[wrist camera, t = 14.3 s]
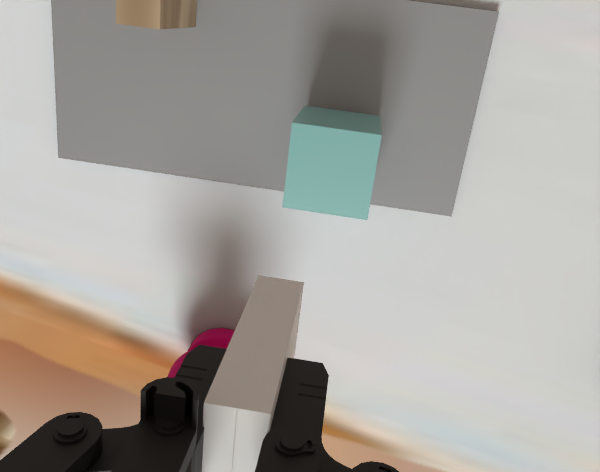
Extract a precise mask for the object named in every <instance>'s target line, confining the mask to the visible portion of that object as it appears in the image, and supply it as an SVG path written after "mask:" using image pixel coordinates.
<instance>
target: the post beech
mask: <svg viewBox="0 0 600 472" xmlns="http://www.w3.org/2000/svg"><path fill="white" fill-rule="evenodd" d="M196 9H197V0H116V24H122V25H130V26H137V27H145V28H152V29H174V28H189V27H196Z"/></svg>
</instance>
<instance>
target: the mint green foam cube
mask: <svg viewBox="0 0 600 472" xmlns="http://www.w3.org/2000/svg"><path fill="white" fill-rule="evenodd" d="M381 137H382V130H381V116H377V115H370V114H363V113H355V112H348V111H341V110H334V109H326V108H319V107H312V106H304V107H303V109H302V110H301V111H300V113H299V114H298V115H297V117H296V118H295V119H294V121H293V122H292V127H291V136H290V145H289V154H288V163H287V172H286V181H285V190H284V199H283V207H284V208H291V209H298V210H304V211H311V212H318V213H324V214H331V215H337V216H344V217H351V218H357V219H364V220H367V218H368V212H369V207H370V201H371V195H372V189H373V183H374V178H375V172H376V166H377V160H378V154H379V149H380V143H381Z"/></svg>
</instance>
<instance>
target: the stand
mask: <svg viewBox="0 0 600 472" xmlns="http://www.w3.org/2000/svg"><path fill="white" fill-rule="evenodd" d="M51 5H52V27H53V49H54V71H55V93H56V115H57V137H58V158H64V159H71V160H78V161H84V162H91V163H98V164H105V165H111V166H118V167H125V168H131V169H138V170H145V171H151V172H158V173H165V174H171V175H178V176H185V177H192V178H198V179H205V180H212V181H218V182H225V183H232V184H238V185H245V186H252V187H258V188H265V189H272V190H279V191H284V190H285V181H286V172H287V163H288V154H289V145H290V136H291V127H292V122H293V121H294V119H295V118H296V117H297V115H298V114H299V113H300V111H301V110H302V109H303V107H304V106H312V107H319V108H326V109H334V110H341V111H348V112H355V113H363V114H370V115H377V116H381V130H382V137H381V143H380V149H379V154H378V160H377V166H376V172H375V178H374V183H373V189H372V195H371V201H370V204H372V205H379V206H386V207H392V208H399V209H406V210H412V211H419V212H426V213H432V214H439V215H446V216H451V215H452V211H453V207H454V202H455V198H456V194H457V189H458V185H459V181H460V176H461V172H462V168H463V163H464V159H465V155H466V151H467V146H468V142H469V138H470V133H471V129H472V125H473V120H474V116H475V112H476V107H477V103H478V99H479V94H480V90H481V86H482V82H483V77H484V73H485V69H486V64H487V60H488V56H489V51H490V47H491V43H492V38H493V34H494V30H495V25H496V21H497V17H498V13H499V12H498V11H490V10H482V9H474V8H466V7H458V6H450V5H442V4H434V3H426V2H418V1H410V0H197V9H196V27H189V28H174V29H152V28H145V27H137V26H130V25H122V24H116V0H51Z"/></svg>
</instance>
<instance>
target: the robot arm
mask: <svg viewBox="0 0 600 472" xmlns="http://www.w3.org/2000/svg"><path fill="white" fill-rule="evenodd" d="M303 285H304V282H298V281H291V280H284V279H278V278H271V277H265V276H258V278H257V280H256V283H255V285H254V287H253V290H252V292H251V294H250V297H249V299H248V301H247V304H246V306H245V308H244V311H243V313H242V315H241V318H240V320H239V322H238V324H237V327H236V329H235V331H234V334H233V336H232V338H231V341H230V343H229V345H228V348H227V349H224V348H218V347H212V346H206V345H198V346H197V347H195V348H194V349H193V350H191V351H190V352H188V353H187V355H186V356H185V358H184V360H183V362H182V364H181V367H179V369H178V371H177V373H176V376H175V377H174V378H170V377H167V378H162V379H157V380H155V381H152V382H150V383H148V384H147V385H146V386H145V387H144V388H143V389H142V390H141V420H140V422H139V424H137V425H134V426H130V427H124V428H113V429H102V425H101V423H100V421H99V419H98V418H96V417H94V416H93V415H91V414H87V413H82V412H75V413H66V414H63V415H60V416H57V417H55V418H53V419H52V420H50V421H48V422H47V423H45V424H44V425H43V426H42V427H40V428H39V429H38V430H37V431H36V432H34V433H33V434H32V435H31V436H29V437H28V438H27V439H26V440H25V441H24V442H22V443H21V444H20V445H19V446H18V447H16V448H15V449H14V450H12V451H11V452H10V453H9V454H8V455H6V456H5V457H4V458H3V459H1V460H0V472H399V471H397V470H396V469H395V468H393V467H391V466H389V465H386V464H384V463H379V462H372V461H371V462H366V463H361V464H359V465H357V466H356V467H354V468H353V469H351V468H348V467H346V466H344V465H342V464H340V463H339V462H337V461H335V460H334V459H333V458H331V457H330V456H329V455H328V453H327V452H326V451H325V449H324V447H323V444H322V438H321V436H322V427H323V418H324V410H325V401H326V393H327V384H328V376H329V375H328V373H327V371H326V369H325V367H324V365H323V363H318V362H312V361H306V360H300V359H294V354H295V347H296V340H297V332H298V324H299V316H300V308H301V300H302V293H303Z"/></svg>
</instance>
